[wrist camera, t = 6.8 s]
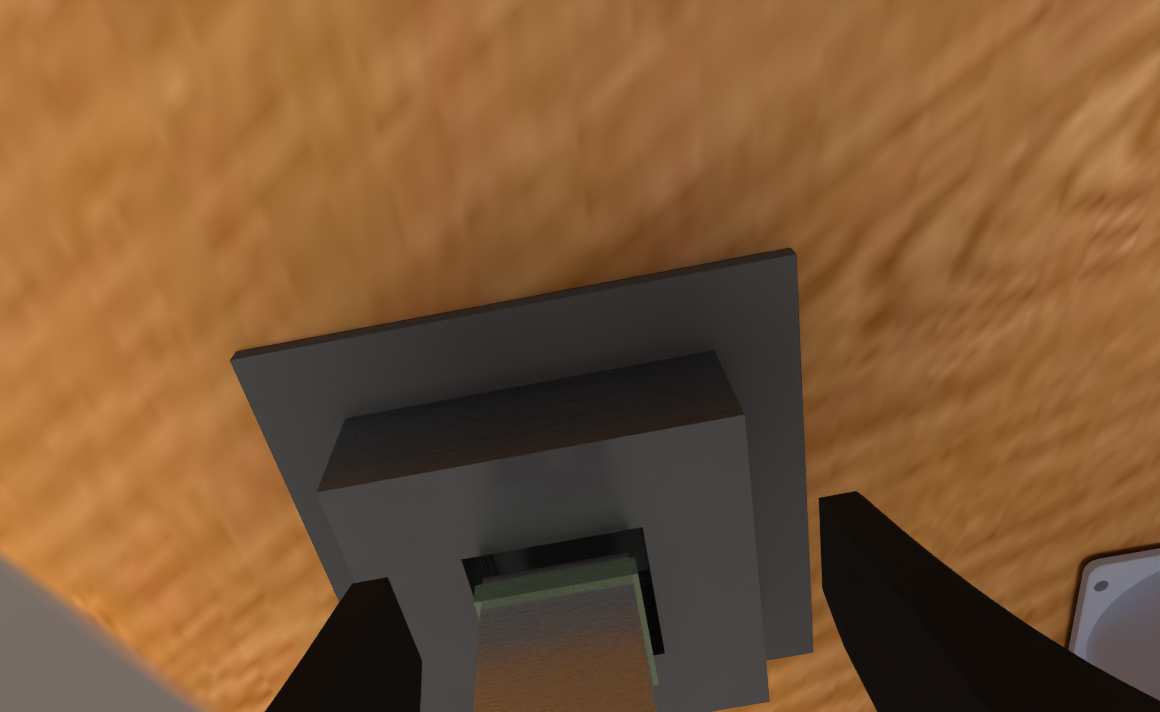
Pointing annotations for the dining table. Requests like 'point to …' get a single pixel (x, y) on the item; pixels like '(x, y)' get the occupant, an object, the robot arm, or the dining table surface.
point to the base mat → (558, 350)
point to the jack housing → (564, 515)
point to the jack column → (565, 640)
